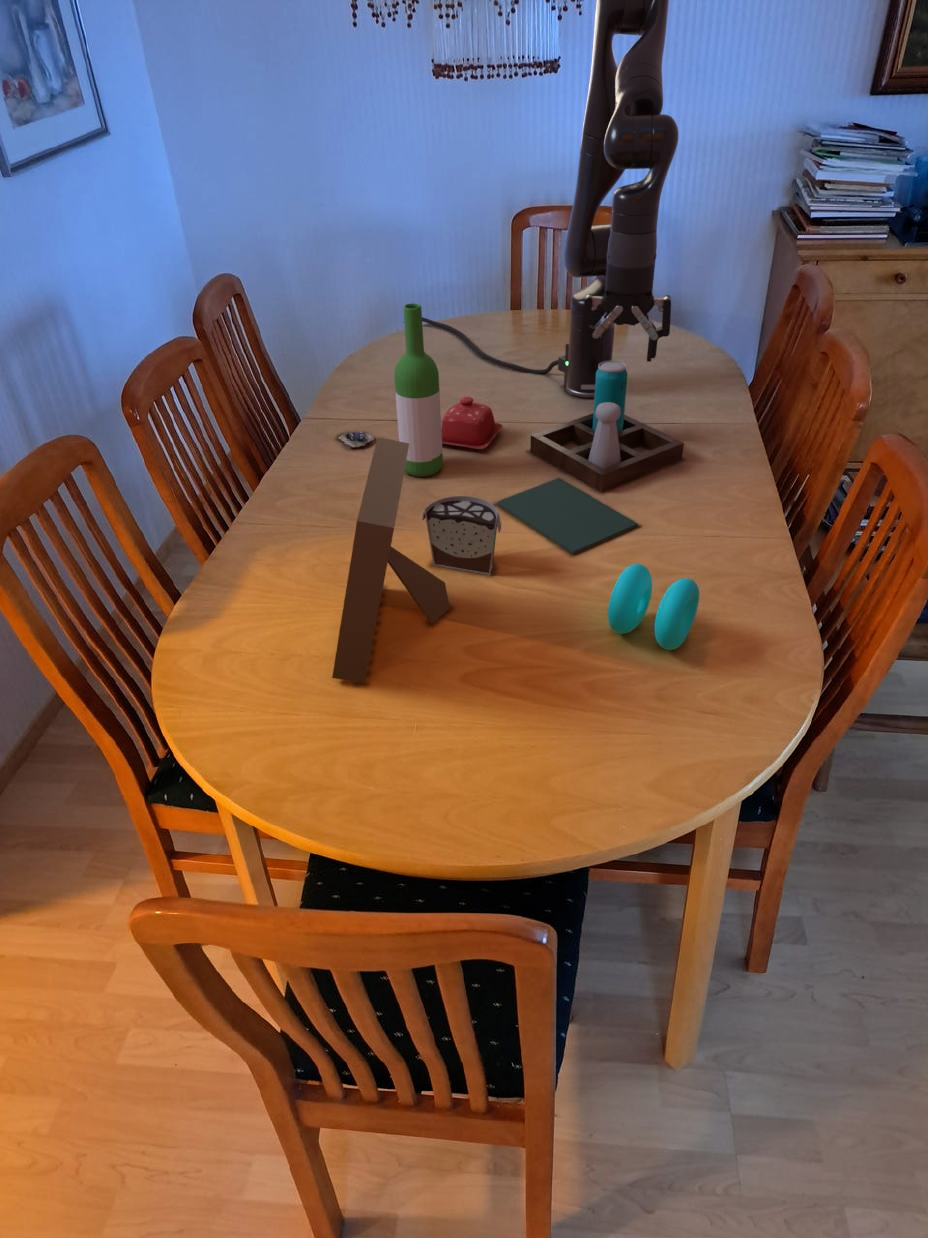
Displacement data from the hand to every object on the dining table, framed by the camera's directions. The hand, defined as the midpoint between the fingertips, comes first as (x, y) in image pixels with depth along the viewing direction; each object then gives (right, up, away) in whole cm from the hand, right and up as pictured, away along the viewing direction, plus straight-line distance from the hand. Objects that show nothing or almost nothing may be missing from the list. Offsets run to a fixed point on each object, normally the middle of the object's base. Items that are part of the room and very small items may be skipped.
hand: (622, 359), depth 151 cm
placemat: (-10, -26, +1) cm, 28 cm away
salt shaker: (-1, -17, +13) cm, 21 cm away
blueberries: (-48, -9, +26) cm, 55 cm away
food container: (-26, -34, -9) cm, 44 cm away
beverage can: (+1, -9, +23) cm, 25 cm away
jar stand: (0, -13, +18) cm, 22 cm away
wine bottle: (-34, -16, +16) cm, 41 cm away
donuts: (-1, -46, -25) cm, 53 cm away
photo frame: (-36, -46, -23) cm, 63 cm away
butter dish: (-26, -8, +25) cm, 37 cm away
